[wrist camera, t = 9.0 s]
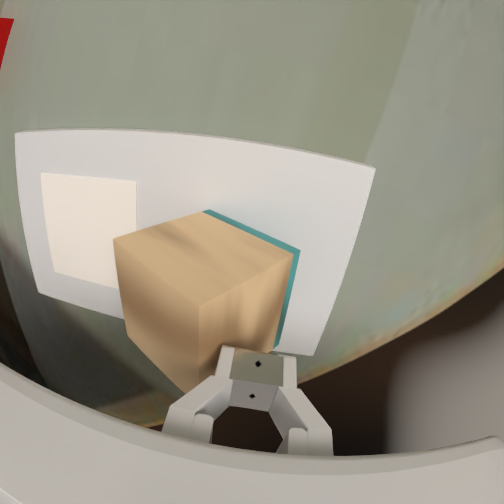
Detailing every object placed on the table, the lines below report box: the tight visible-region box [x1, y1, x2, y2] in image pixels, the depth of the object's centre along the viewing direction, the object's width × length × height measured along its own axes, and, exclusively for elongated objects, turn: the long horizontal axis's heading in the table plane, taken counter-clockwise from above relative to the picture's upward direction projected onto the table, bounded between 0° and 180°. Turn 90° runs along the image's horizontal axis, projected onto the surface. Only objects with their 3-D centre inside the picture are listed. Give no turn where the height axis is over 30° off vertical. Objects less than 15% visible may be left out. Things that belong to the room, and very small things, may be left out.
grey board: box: [15, 128, 375, 356], centre depth 19 cm, size 14×24×1 cm, turn 81°
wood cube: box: [113, 209, 301, 394], centre depth 14 cm, size 6×6×6 cm
